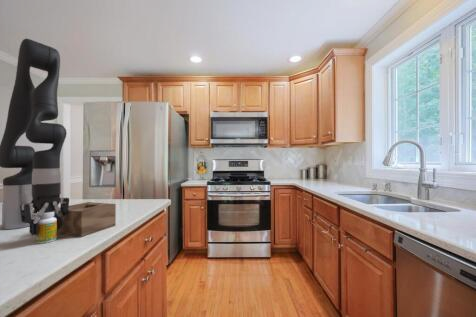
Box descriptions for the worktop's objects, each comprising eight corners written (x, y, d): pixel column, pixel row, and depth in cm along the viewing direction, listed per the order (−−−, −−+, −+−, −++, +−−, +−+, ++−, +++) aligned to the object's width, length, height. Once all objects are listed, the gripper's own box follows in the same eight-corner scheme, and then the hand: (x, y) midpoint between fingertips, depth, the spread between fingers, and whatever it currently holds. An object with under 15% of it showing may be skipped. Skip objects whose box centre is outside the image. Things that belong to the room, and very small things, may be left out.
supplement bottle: (44, 244, 75) (45, 214, 75) (31, 243, 76) (31, 213, 76) (60, 239, 80) (60, 210, 80) (48, 237, 81) (48, 210, 81)
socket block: (51, 233, 86) (51, 209, 86) (87, 222, 101) (88, 202, 101) (81, 237, 82) (81, 211, 82) (115, 225, 96) (115, 203, 96)
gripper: (60, 180, 86) (60, 225, 86) (13, 183, 72) (12, 237, 72) (75, 180, 84) (75, 226, 84) (29, 184, 70) (29, 239, 70)
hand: (46, 231), depth 78 cm, fingers open, 6 cm apart
